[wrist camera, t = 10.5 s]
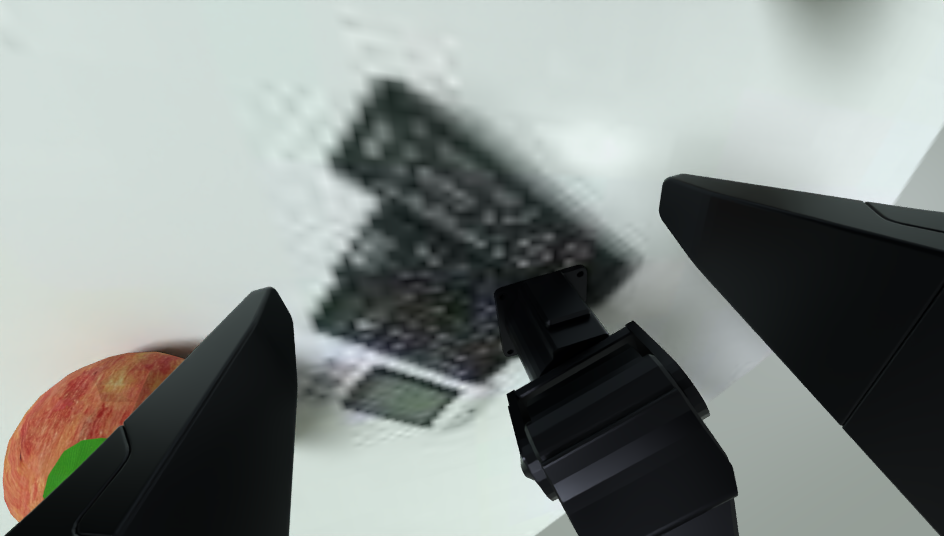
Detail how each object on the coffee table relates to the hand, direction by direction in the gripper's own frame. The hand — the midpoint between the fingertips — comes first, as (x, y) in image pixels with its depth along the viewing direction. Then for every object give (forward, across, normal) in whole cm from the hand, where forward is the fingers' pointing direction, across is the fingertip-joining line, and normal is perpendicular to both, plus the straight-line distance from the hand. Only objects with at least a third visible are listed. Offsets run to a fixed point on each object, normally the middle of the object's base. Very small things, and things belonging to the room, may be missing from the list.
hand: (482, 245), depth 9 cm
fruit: (+13, +18, +12) cm, 25 cm away
